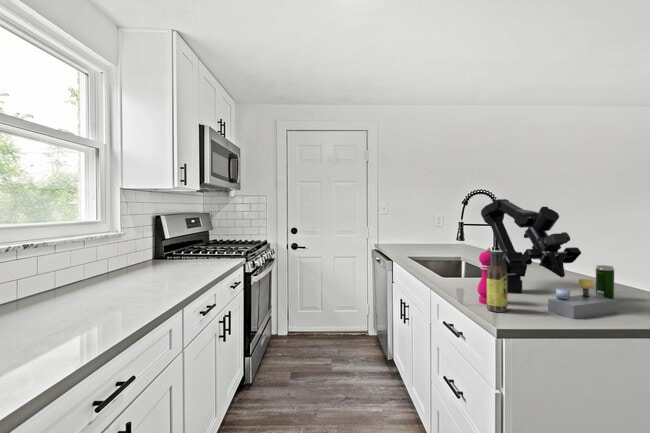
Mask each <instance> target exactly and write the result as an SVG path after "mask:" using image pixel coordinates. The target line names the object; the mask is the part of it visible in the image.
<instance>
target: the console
mask: <svg viewBox="0 0 650 433" xmlns="http://www.w3.org/2000/svg"><path fill="white" fill-rule="evenodd" d="M547 311H548V312H550V313H553V314H557V315H560V316H562V317H566V318H570V319H573V320H574V319H575V320H577V319H582V318H588V317H595V316H601V315H610V314H614V313H615V314H616V313H617V300H616V299H609V298H604V297H600V296H596V294H591V293H590V294H589V297H587V298H586V297H583V294H578V295H570V299H566V300H560V298H557V297H554V298H547Z"/></svg>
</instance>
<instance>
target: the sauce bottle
mask: <svg viewBox="0 0 650 433" xmlns="http://www.w3.org/2000/svg"><path fill="white" fill-rule="evenodd" d="M490 256H491V262H490V263H491V265H490V267H489V268H488V270H487V304H486V309H487V310H488V311H490V312H496V313H503V312H506V311H507V310H508V293H507V272H506V269H505V268H504V266H503V251H501V250H496V249H495V250H490Z"/></svg>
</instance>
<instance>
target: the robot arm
mask: <svg viewBox="0 0 650 433" xmlns="http://www.w3.org/2000/svg"><path fill="white" fill-rule="evenodd" d="M480 215H481V217H482V219H483V221H484V223H486V224H487V225H488V226H490V228H491V229H492V232H493V235H494V237H495V239H496V242H497V244H498V247H499V251H503V266H504V268H505V269H506V272H507V294H508V293H511V294H522V291H523V280H522V278H523V277H526V273H527V268H528V266H530V265H532V264H533V260H539V261H540V262H539V266H540V267H543V268H545V269H547V270H549V271H550V272H552V273H553V274H554V275H557V276H558V277H560V278H564V277H565V276H566V273H565V267H564V264H573V263H574V262H575V261H576V260H577V259H578V258H579V257H580V255H582V251H581V250H580V249H579V247H573V246H572V247H565V249H564V250H563V251H559V250H560V249H561V248H562V245H565V244H568V242H570V241H571V237H570V235H569V233H568V232H565V231H563V232H561V233H551V234H548V233H547V232H548V231H551V230H552V228H553V227H554V226H555V224H556V223H557V221H558V220H559V219H560V215H559V213H558V212H556V210H554V209H551V208H549V206H541V207H540V208H539V211H534V210H528V209H523V208H522V207H520V206H518V205H516V204H515V203H512V202H511V201H510V200H508V199H505V198H502V199H501V198H500V199H499V198H498V199H496V200H494V201H493V202H491V203H489V204H487V205H484V207H483V208H482V209H481V211H480ZM505 215H507V216H509V217H510V218H512V219H514V220H513V221H514V223H515V224H516V225H517V227H518V228H522V229H523V228H527V229H526V230H525V231H524V233H523V239H529V240H530V242H531V245H532V246H531V248H527V249H525V251H524V253H522V251H516V250H515V247H514V245H513V243H512V240H511V238H510V236H509V233H508V231H507V228H506V226H505V224H504V218H505ZM521 277H522V278H521Z"/></svg>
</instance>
